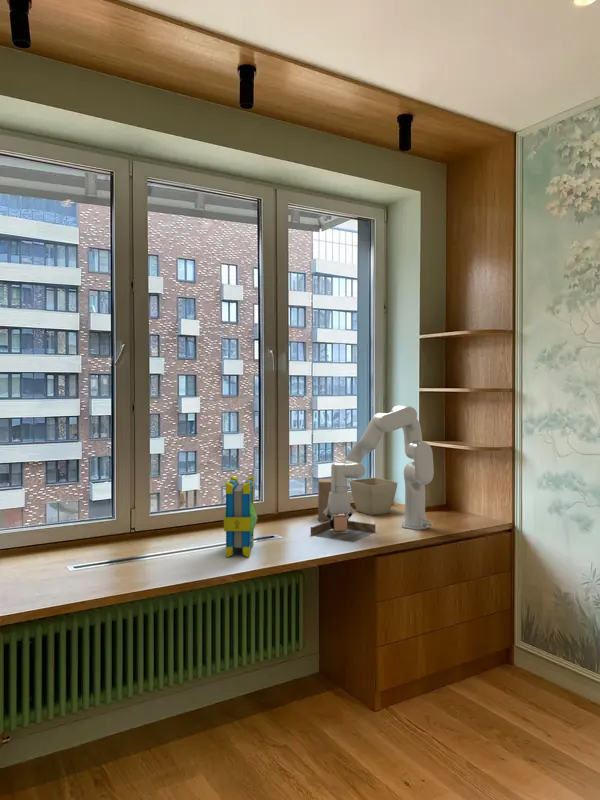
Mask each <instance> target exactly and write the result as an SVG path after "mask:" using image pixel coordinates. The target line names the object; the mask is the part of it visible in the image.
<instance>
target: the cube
mask: <svg viewBox="0 0 600 800" xmlns="http://www.w3.org/2000/svg"><path fill="white" fill-rule="evenodd" d="M333 520H334V529H333V530H334V531H341V530H347V517H346V516H345V515H344V514H338V515H334V518H333Z"/></svg>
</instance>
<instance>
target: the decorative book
mask: <svg viewBox="0 0 600 800" xmlns="http://www.w3.org/2000/svg"><path fill="white" fill-rule="evenodd" d="M254 476H255V475H251V476H250V477H248V478H247V479H246V481H245V482H244V483H239V478H238V477H236V476H234V475H231V476H230V480H229V481H226V482H225V511H224V514H223V517H222V520H223V532H225V558H228V557H230V556H232V555H233V554H234V551H235V549H236V548H241V550H242V555H243V556H245V557H247V558H250V557H251V551H252V549H253V548H254V539H255V538H254V537H255V535H254V534H255V533H254V530H255V527H256V523H257V521H258V519H259V518H258V516H257V512H256V509H255V507H254V502H255V501H254V499H255V497H254V495H255V494H254V492H255V491H254Z"/></svg>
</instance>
